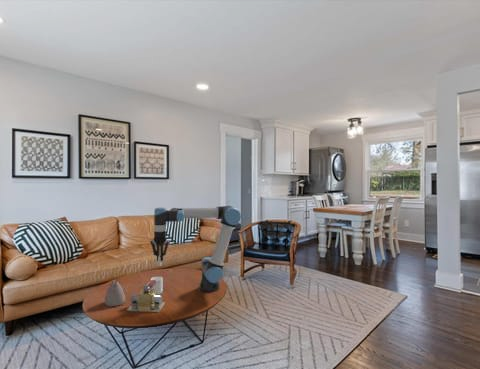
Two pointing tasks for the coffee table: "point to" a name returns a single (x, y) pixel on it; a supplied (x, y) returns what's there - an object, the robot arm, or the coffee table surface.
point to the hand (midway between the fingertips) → (159, 265)
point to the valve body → (146, 302)
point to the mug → (157, 285)
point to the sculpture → (114, 295)
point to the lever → (149, 286)
